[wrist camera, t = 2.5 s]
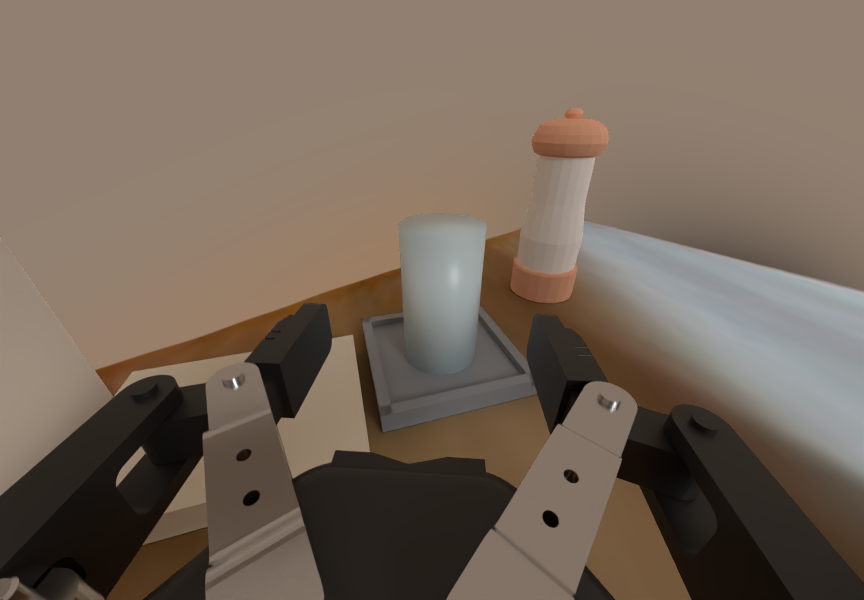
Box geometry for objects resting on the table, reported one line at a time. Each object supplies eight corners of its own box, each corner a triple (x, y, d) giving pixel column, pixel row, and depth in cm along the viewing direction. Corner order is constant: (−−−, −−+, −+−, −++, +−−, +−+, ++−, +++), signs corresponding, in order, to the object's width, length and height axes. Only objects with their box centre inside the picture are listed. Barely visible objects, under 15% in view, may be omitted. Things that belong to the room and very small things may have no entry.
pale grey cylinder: (459, 325, 31) (466, 210, 25) (486, 366, 26) (502, 234, 20) (398, 336, 29) (391, 216, 24) (414, 381, 24) (410, 243, 19)
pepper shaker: (580, 287, 40) (628, 108, 30) (556, 310, 35) (603, 106, 25) (527, 271, 44) (554, 109, 34) (498, 289, 39) (521, 108, 30)
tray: (475, 313, 34) (476, 300, 34) (538, 393, 24) (541, 378, 24) (363, 332, 31) (361, 318, 30) (382, 432, 21) (380, 416, 21)
